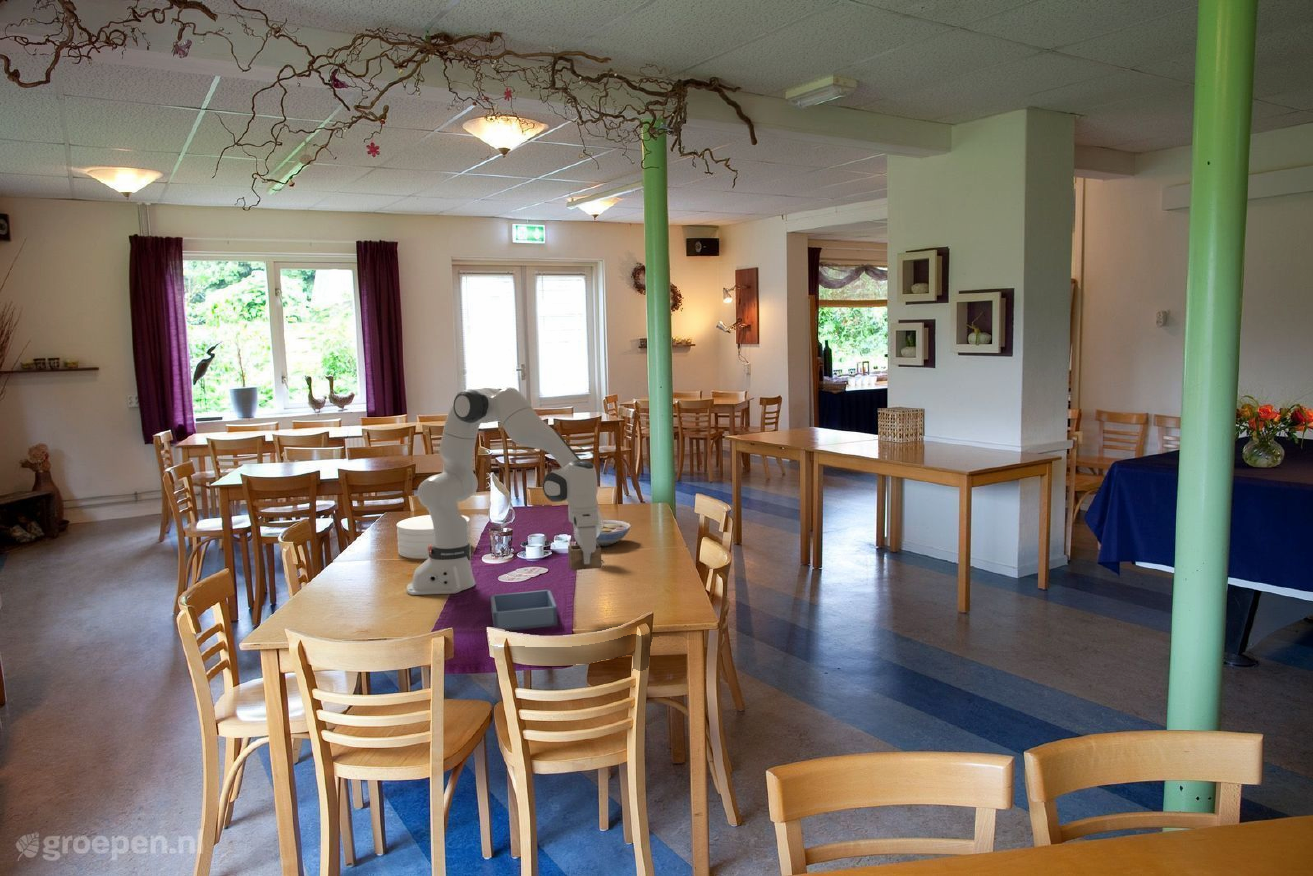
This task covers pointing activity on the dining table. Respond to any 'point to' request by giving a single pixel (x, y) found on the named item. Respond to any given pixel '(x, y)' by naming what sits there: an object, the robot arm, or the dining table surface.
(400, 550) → the plate stack
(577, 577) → the dining table surface
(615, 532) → the ramen bowl
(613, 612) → the dining table surface
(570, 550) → the walnut crate
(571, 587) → the dining table surface
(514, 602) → the blue crate
